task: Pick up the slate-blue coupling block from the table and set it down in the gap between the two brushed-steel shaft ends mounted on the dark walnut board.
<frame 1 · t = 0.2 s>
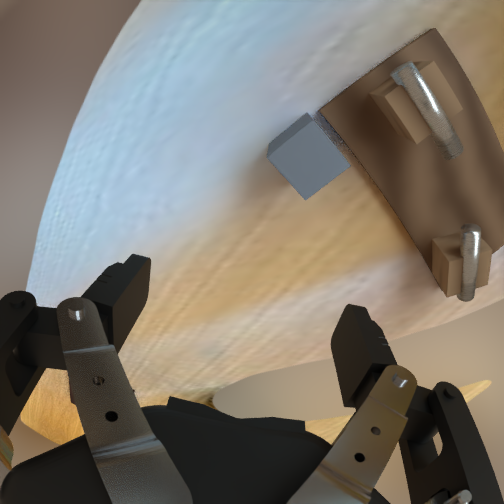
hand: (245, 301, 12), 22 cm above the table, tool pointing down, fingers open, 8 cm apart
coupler: (304, 146, 30), on the table
shaft a: (407, 104, 27), resting on base board
shaft b: (449, 240, 34), resting on base board
base board: (447, 171, 29), on the table
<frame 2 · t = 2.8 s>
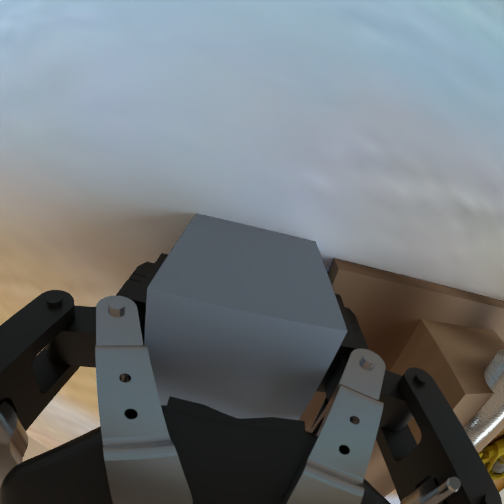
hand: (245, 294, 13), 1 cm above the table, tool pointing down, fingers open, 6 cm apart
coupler: (243, 279, 14), on the table
shaft a: (424, 363, 16), resting on base board
base board: (359, 446, 19), on the table
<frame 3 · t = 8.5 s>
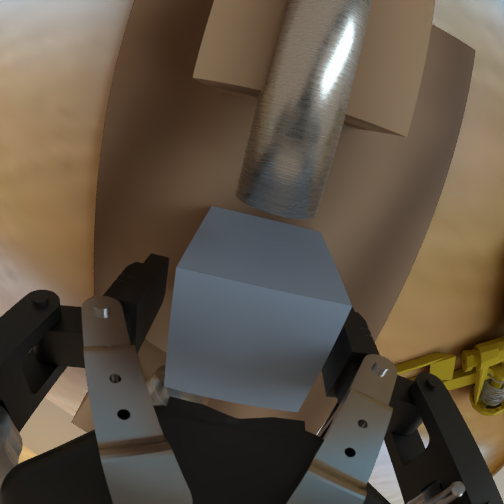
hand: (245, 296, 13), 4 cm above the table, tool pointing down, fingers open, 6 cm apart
sprinkler: (487, 327, 18), on the table
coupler: (254, 268, 15), point 1 cm above the table, touching base board
shaft a: (296, 78, 12), resting on base board
shaft b: (163, 357, 19), resting on base board
base board: (249, 259, 16), on the table
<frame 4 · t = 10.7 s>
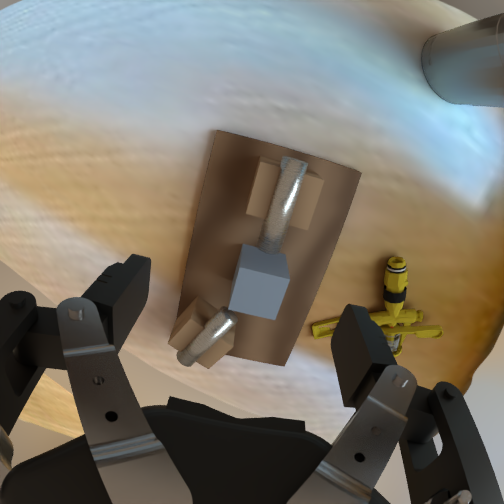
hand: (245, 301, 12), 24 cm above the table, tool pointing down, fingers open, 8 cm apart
sprinkler: (378, 305, 41), on the table
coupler: (258, 268, 37), point 1 cm above the table, touching base board
shaft a: (278, 192, 34), resting on base board
shaft b: (211, 312, 41), resting on base board
base board: (256, 264, 38), on the table
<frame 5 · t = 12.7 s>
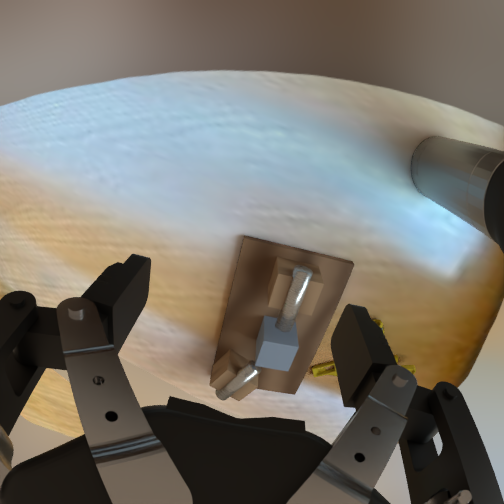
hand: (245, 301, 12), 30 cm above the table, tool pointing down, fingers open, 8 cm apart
sprinkler: (363, 351, 52), on the table
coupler: (275, 331, 49), point 1 cm above the table, touching base board
shaft a: (290, 279, 46), resting on base board
shaft b: (239, 358, 53), resting on base board
base board: (274, 327, 50), on the table
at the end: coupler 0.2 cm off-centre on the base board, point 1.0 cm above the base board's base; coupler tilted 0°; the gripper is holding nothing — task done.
